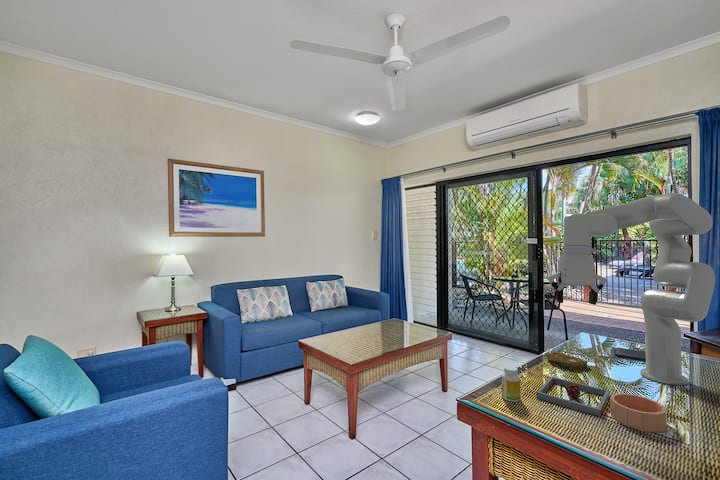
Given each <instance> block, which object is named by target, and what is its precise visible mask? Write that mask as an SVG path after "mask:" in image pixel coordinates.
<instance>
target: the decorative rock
mask: <svg viewBox="0 0 720 480" xmlns="http://www.w3.org/2000/svg"><path fill="white" fill-rule="evenodd" d="M545 357H546V358H547V360H548V361H550V362H552V363H554V364H557V366H561V365H562V366H563V367H566V368H568V369H570V371H579V372H583V371H585V370H586V368H587V366H588V360H584V359H582V358H580V357H576V356H571V355H568V354H564V353H562V352H560V351H553V352H546V353H545Z"/></svg>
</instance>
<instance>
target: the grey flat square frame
mask: <svg viewBox="0 0 720 480" xmlns="http://www.w3.org/2000/svg"><path fill="white" fill-rule="evenodd" d="M553 384H557V385H560V386H564V387H567V386H568V385H569V384H573V385H576V386H578V387H579V390H580V391H584V392H587V393H592V394H596V395H599V396H602V398H601V400H600V402H599V404H598V406H597V407H594V406H592V405H588V404H585V403H584V404H583V403H580V402H577V401H573V400H569V399H566V398H563V397H560V396H555V395H552V394H548V393H546V392H547V390H548V389H549V388H550V387H551V386H552V385H553ZM610 394H611V391H610V390H609V389H606V388H605V389H604V388H602V387H597V386H593V385H589V384H588V385H587V384H583V383H579V382H576V381H572V380H567V379H564V378H558V377H555V376H550V377H549V378H548V379H547V380H546V381H545V383H543V384H542V385H541V387H540V388H539V389H538V390H536V394H535V395H536V396H535V397H536V398H537V399H538V400H539V399H540V400H543V401H545V402H546V401H547V402H550V403H553V404H556V405H559V406H564V407H567V408H569V409H570V408H571V409H574V410H577V411H581V412H583V413H586V414H591V415H594V416H598V417H601V416H602V414H603V412H604V410H605V407H606V406H607V403H608V401H609V400H610V397H611V395H610Z"/></svg>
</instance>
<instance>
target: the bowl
mask: <svg viewBox="0 0 720 480" xmlns="http://www.w3.org/2000/svg"><path fill="white" fill-rule="evenodd" d="M609 409H610V411H609V413H610V415H611V417H612V418H613V420H615V421H616V422H617V423H620V424H621V425H623V426H626V427H627V428H629V429H630V428H631V429H634V430H637V431H641V432H647V433H654V434H655V433H656V434H657V433H664V432H666V431H667V408H666V406H664V405H663V404H661V403H660V402H659V401H656V400H653V399H651V398H648V397H646V396H642V395H638V394H632V393H623V392H619V393H612V394H611V395H610V397H609Z"/></svg>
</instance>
